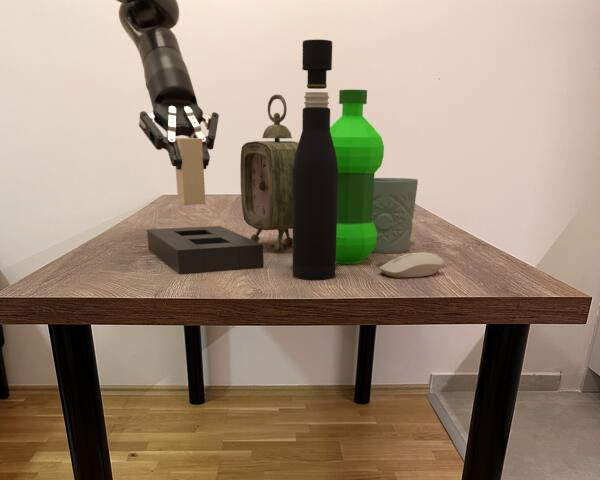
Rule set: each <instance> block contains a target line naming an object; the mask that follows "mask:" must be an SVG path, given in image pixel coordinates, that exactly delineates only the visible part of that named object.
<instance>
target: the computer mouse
mask: <svg viewBox="0 0 600 480" xmlns="http://www.w3.org/2000/svg"><path fill="white" fill-rule="evenodd" d="M443 266H444V260H443V259H442V258H441V257H440V256H439V255H436V254H435V253H430V252H411V253H406V254H402V255H400V256H397V257H395V258H393V259H391V260H389V261H387V262H386V263H384V264H383V265H381V266H379V270H380V272H381V273H382V274H384V275H386V276H388V277H391V278H396V279H397V278H398V279H400V278H416V277H417V278H418V277H419V278H420V277H428V276H432V275H434V274H436V273H437V272H438V271H439V270H440V269H441V268H442V267H443Z"/></svg>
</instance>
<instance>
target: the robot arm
mask: <svg viewBox="0 0 600 480" xmlns="http://www.w3.org/2000/svg"><path fill="white" fill-rule="evenodd" d="M116 1H117V2H118V3H121V4H120V5H119V9H118V18H119V22H120V24H121V27H122V28H123V30H124V32H125V33H126V34H127V36H128V38H130V40H131V41H132V43H133V44H134V45H135V48H136V49H137V51H138V54H139V57H140V60H141V64H142V68H143V74H144V81H145V87H146V90H147V91H148V96H149V99H150V103H151V106H152V112H150V113H147V112H146V111H144V110H143V111H140V113H139V120H138V121H139V122H138V126H139V128H140V130H141V131H142V132H143V133H144V135H145V136H146V137H147V139H148V140H149V141H150V143H151V144H152V146H153V147H154V148H155V149H156V150H158V151H160V150H166V151H167V153H168V157H169V161H170V164H171V165H172V167H175V170H176V169H177V170H181V166H182V158H181V155H180V151H179V147H178V144H177V143H175V138H177V137H179V136H183V137H186V138H202V150H203V168H204V170H207V167H208V166H209V164H210V161H211V160H210V158H211V156H210V152H209V151H211V150H213V149H214V146H215V140H216V136H217V130H218V123H219V117H220V114H219V113H218V112H215V111H214V112H211V114H207V113H205V112H203V110H202V109H201V107H200V106H199V104H198V100H197V96H196V93H195V89H194V87H193V83H192V80H191V76H190V72H189V70H188V67H187V65H186V62H185V61H184V57H183V54H182V51H181V47H180V45H179V41H178V38H177V36H176V34H175V33H174V32H173V31H172V29H173V28H175V26H177V24H178V23H179V19H180V7H179V4H178V1H177V0H116ZM201 123H203V124H204V127H205V129H206V130H207V131H208V133H207V135H206V136H205V134H204V132H203V131H202V126H201ZM156 124H157V125H156ZM158 126H159V127H161V128H162V129H163V130H164V131H165V133H166V136H164V134H163V132H162V131H161V130H160V128H159V127H158Z"/></svg>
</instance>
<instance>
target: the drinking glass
mask: <svg viewBox="0 0 600 480" xmlns="http://www.w3.org/2000/svg"><path fill="white" fill-rule="evenodd" d="M418 183H419V181H418V178H407V177H406V178H405V177H374V192H373V211H372V221H373V223H374V225H375V228H376V232H377V242H376V245H375V248H374V250H373V251H372V253H376V254H401V253H402V254H403V253H407V252H409V250H410V247H411V238H412V237H411V236H412V230H413V220H414V215H415V208H416V200H417V199H416V198H417V191H418V185H419V184H418Z"/></svg>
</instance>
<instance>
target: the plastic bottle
mask: <svg viewBox="0 0 600 480" xmlns="http://www.w3.org/2000/svg"><path fill="white" fill-rule="evenodd" d="M338 91H339V93H338V96H339V97H338V104H339V105H342V107H341V109H342V110H341V111H342V112H341V116H340V117H339V118H338V119H337V120H336V121H335V122H334V123H333V124H332V125H330V133H331V137H332V140H333V144H334V148H335V152H336V158H337V164H338V203H337V236H336V264H342V265H357V264H361V263H363V260H366V259H367V258H368V257H369V256H370V255H371V254H372V253H373V252H372V251H373V250H374V248H375V245H376V242H377V232H376V228H375V225H374V223H373V221H372V211H373V192H374V178H375V173H376V172H377V171H378V170H379V169H380V168H381V166H382V165H383V159H384V154H385V153H384V152H385V144H384V142H383V138H382V136H381V134H380V133H379V132H378V131H377V130H376V128H374V126H373V125H372V124H371V123H370V121H368V120H367V119H366V117H364V115H363V114H364V105H367V102H368V89H339V90H338Z"/></svg>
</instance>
